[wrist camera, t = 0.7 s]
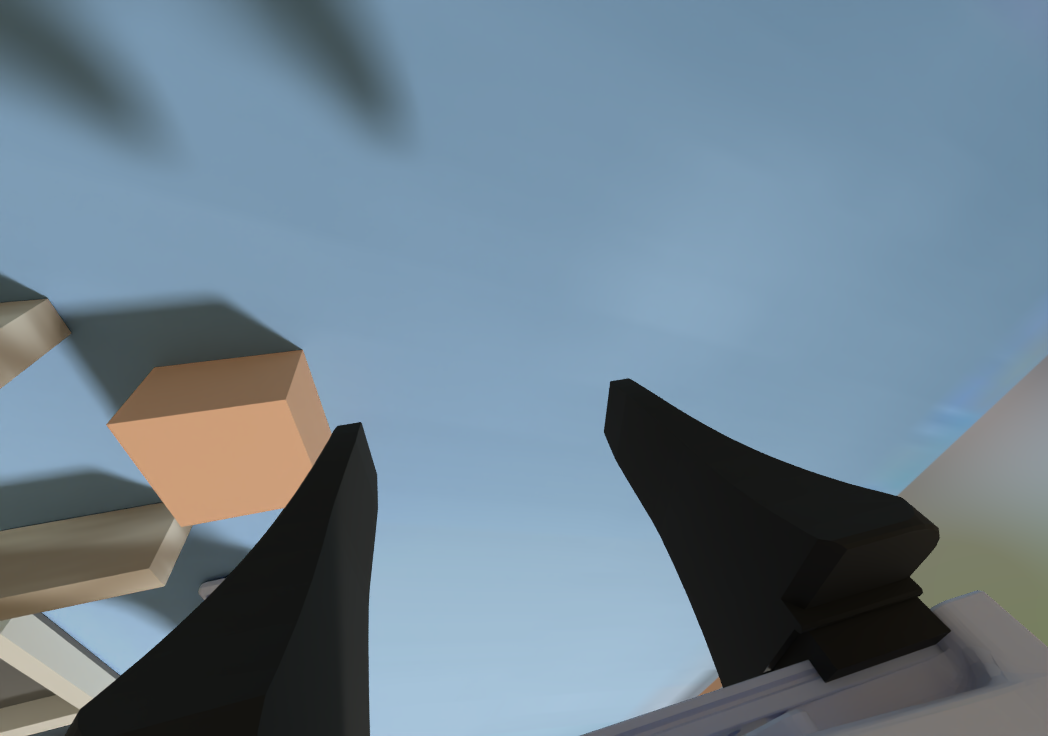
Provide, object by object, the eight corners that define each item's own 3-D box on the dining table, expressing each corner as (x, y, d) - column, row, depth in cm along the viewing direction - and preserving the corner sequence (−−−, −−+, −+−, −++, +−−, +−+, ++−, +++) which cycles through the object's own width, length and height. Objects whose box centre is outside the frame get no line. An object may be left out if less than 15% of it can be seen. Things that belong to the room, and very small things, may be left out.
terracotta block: (335, 441, 23) (325, 499, 20) (212, 461, 22) (181, 527, 19) (303, 347, 20) (285, 399, 17) (156, 365, 19) (106, 424, 15)
